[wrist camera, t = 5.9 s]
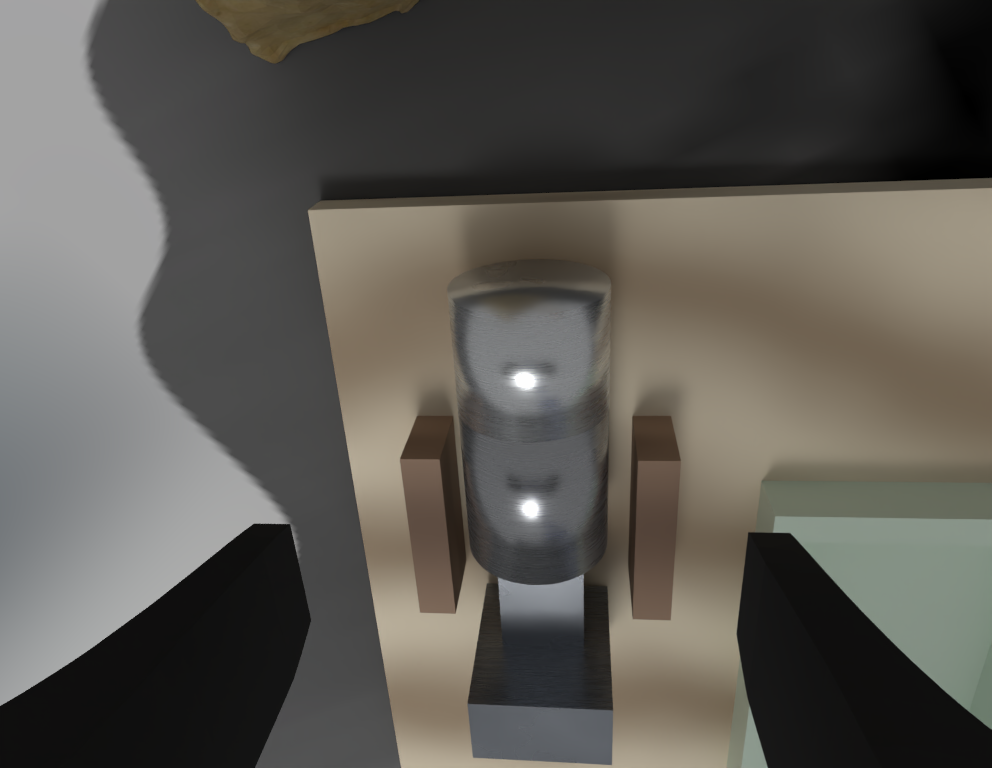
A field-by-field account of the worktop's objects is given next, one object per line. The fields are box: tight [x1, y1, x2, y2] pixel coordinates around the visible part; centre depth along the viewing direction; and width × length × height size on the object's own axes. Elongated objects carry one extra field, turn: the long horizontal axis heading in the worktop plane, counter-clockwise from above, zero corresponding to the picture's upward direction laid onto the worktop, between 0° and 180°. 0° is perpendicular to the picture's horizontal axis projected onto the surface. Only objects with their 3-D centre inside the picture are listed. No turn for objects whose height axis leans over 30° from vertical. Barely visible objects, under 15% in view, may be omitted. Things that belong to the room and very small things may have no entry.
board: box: [308, 178, 992, 768], centre depth 22 cm, size 21×20×1 cm
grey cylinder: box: [447, 259, 611, 585], centre depth 18 cm, size 7×4×4 cm, turn 3°
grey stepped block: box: [467, 574, 613, 765], centre depth 20 cm, size 5×4×4 cm
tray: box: [727, 481, 992, 768], centre depth 22 cm, size 12×8×2 cm, turn 3°
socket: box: [400, 416, 681, 620], centre depth 20 cm, size 5×7×2 cm
